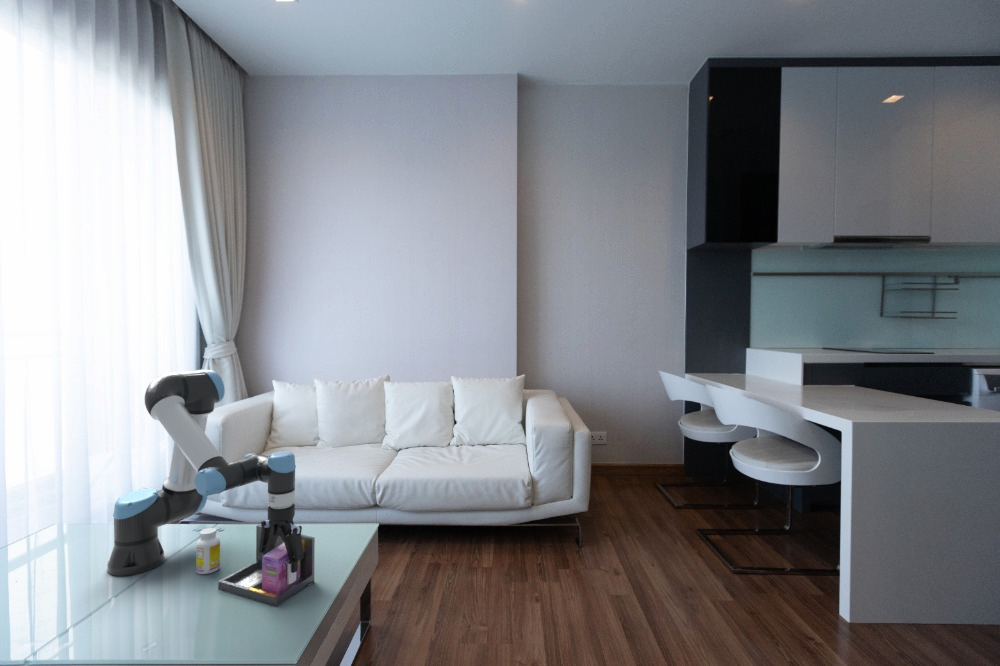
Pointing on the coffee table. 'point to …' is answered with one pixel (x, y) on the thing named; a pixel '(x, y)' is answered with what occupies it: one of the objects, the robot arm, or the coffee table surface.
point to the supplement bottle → (208, 552)
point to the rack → (250, 576)
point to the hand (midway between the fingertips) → (280, 579)
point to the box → (277, 571)
